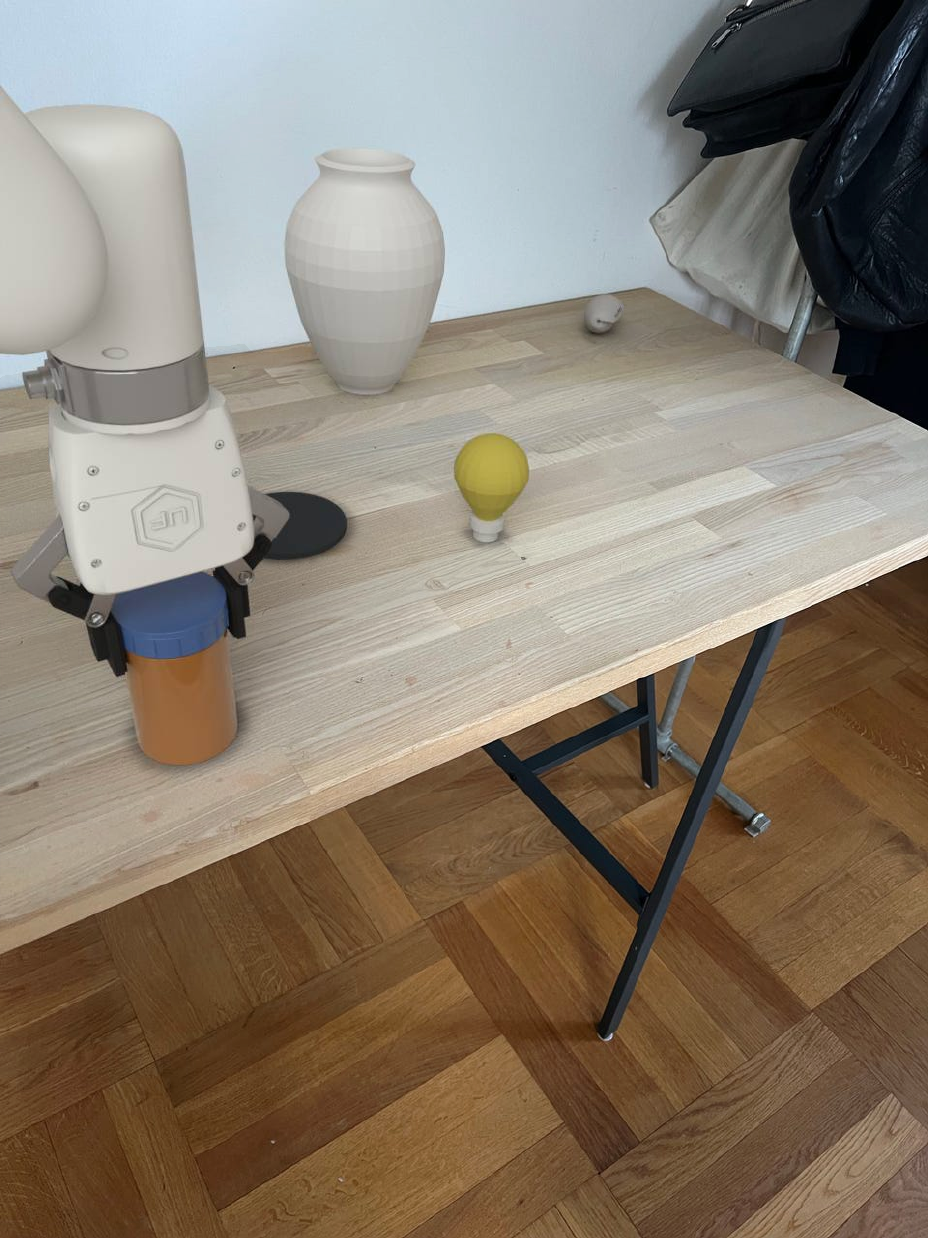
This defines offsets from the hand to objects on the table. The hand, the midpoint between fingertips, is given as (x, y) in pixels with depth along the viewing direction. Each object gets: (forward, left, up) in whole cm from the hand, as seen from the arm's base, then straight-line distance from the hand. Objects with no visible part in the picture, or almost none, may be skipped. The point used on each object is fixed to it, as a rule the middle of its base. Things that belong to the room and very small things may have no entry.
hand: (175, 643), depth 59 cm
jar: (0, 0, -8) cm, 8 cm away
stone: (+76, +53, -8) cm, 93 cm away
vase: (+37, +49, -8) cm, 62 cm away
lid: (0, 0, +3) cm, 3 cm away
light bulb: (+32, +13, -8) cm, 35 cm away
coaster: (+16, +22, -8) cm, 28 cm away
